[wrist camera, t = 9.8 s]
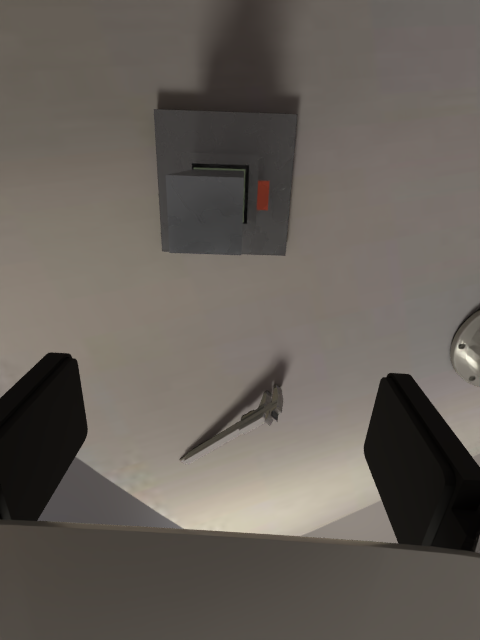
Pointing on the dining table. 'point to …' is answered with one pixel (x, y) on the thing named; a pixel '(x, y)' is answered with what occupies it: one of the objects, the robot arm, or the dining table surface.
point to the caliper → (242, 425)
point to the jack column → (206, 210)
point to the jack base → (234, 165)
